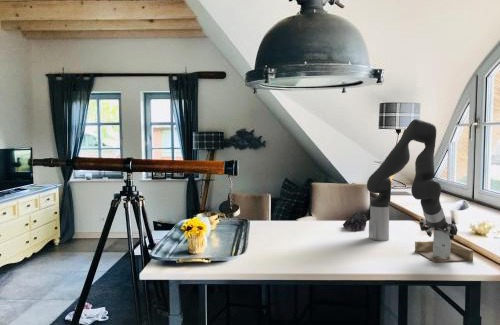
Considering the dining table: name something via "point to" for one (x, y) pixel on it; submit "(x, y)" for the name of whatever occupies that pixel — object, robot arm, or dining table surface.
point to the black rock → (356, 223)
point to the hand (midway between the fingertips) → (440, 236)
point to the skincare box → (441, 244)
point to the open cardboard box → (456, 255)
